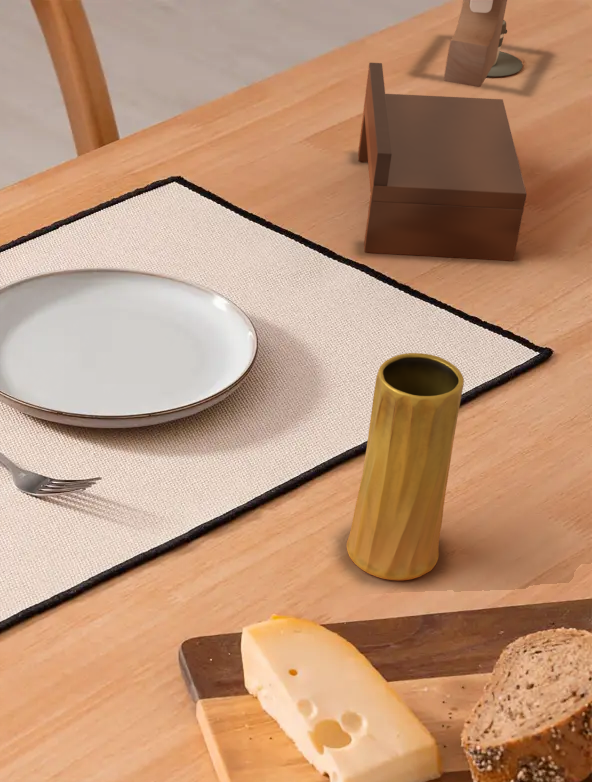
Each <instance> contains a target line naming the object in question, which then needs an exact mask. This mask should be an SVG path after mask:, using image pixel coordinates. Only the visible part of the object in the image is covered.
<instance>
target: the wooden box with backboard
mask: <svg viewBox="0 0 592 782" xmlns="http://www.w3.org/2000/svg"><path fill="white" fill-rule="evenodd" d="M383 69H384V68H383V63H382V62H369V64H368V70H367V79H366V87H365V95H364V96H365V97H364V104H363V111H362V118H361V126H360V127H361V128H360V135H359V144H358V151H357V159H358V162H359V163H360V162H362V163H367V165H368V176H369V190H370V195H369V201H368V202H369V204H368V210H367V217H366V218H367V219H366V226H365V234H364V241H363V249H364V250H363V251H364V253H369V254H388V255H401V256H402V255H403V256H405V255H406V256H421V257H437V258H438V257H439V258H457V259H474V260H475V259H476V260H490V261H491V260H492V261H493V260H494V261H508V262H509V261H510V262H513V261H515V260H514V259H515V255H516V251H517V244H518V239H519V235H520V229H521V225H522V220H523V214H524V209H525V204H526V200H527V190H526V186H525V183H524V177H523V174H522V170H521V166H520V162H519V158H518V154H517V151H516V147H515V143H514V139H513V133H512V130H511V127H510V123H509V122H510V121H509V118H508V114H507V110H506V107H505V103H504V99H503V98H484V97H483V98H482V97H465V96H464V97H463V96H445V95H443V96H442V95H440V96H439V95H422V94H403V93H402V94H401V93H386V88H385V79H384V78H385V77H384V70H383Z"/></svg>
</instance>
